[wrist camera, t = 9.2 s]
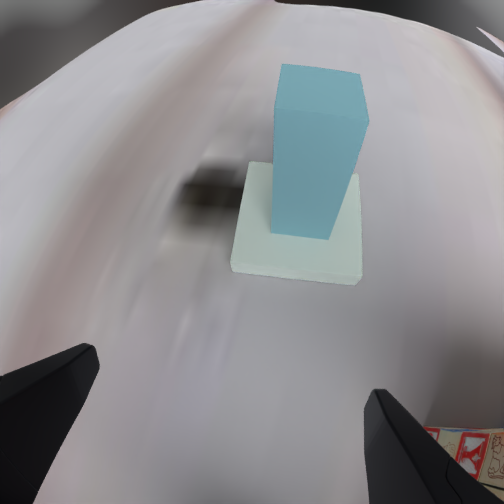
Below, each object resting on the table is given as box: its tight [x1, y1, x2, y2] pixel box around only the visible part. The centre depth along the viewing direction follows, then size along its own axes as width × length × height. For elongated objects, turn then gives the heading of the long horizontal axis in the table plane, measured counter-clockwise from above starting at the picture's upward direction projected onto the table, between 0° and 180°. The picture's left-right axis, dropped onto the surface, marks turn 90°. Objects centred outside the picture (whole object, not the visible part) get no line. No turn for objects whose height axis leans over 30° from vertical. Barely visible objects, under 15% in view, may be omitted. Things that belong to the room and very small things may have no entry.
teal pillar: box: [271, 64, 369, 240], centre depth 19 cm, size 4×4×12 cm
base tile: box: [230, 161, 362, 286], centre depth 26 cm, size 10×10×2 cm
